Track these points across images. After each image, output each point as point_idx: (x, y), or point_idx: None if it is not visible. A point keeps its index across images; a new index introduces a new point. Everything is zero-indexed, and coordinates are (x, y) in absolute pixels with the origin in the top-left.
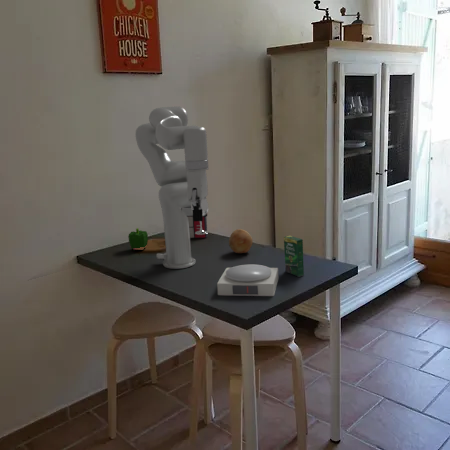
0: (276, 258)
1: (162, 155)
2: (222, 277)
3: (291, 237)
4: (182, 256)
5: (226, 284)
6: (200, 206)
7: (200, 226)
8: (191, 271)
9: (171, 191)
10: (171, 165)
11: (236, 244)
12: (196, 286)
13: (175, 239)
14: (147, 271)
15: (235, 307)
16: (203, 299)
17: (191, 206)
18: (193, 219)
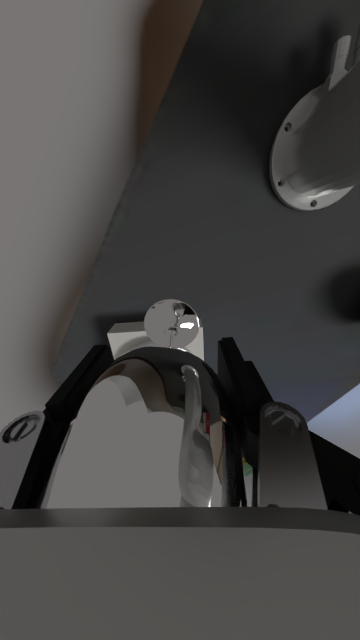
0: (314, 375)
1: None
2: (141, 334)
3: (251, 468)
4: (302, 173)
5: (111, 347)
6: (37, 494)
7: (167, 337)
8: (246, 222)
9: None
10: None
11: None
12: (149, 270)
13: (350, 113)
14: (254, 50)
15: (77, 358)
16: (89, 305)
17: (92, 398)
18: (91, 351)
